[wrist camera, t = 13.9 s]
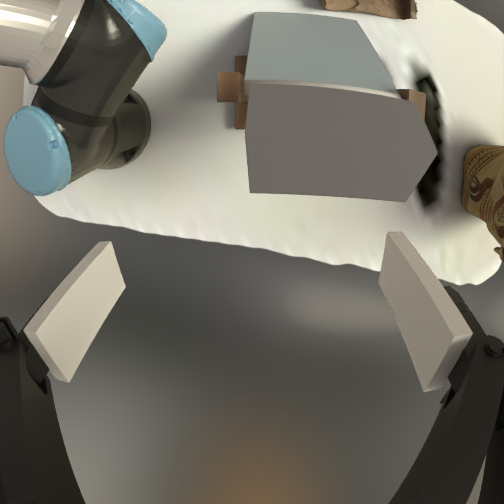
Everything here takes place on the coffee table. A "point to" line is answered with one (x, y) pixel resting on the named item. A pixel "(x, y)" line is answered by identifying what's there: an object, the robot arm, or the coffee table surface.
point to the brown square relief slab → (375, 7)
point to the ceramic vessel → (486, 189)
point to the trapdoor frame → (233, 91)
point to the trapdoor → (328, 113)
